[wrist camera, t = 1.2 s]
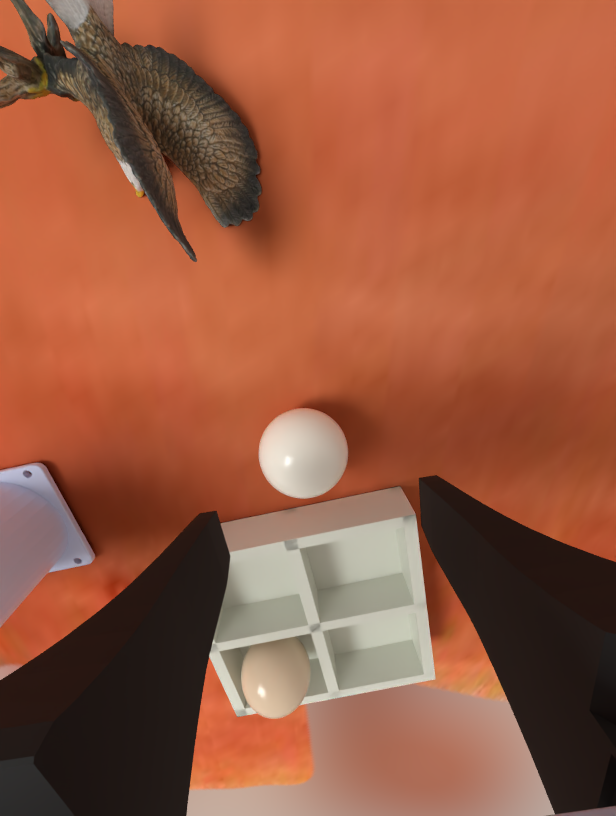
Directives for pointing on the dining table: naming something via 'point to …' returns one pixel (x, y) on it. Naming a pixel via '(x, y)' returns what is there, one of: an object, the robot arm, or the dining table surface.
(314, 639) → the egg tray
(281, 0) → the dining table surface
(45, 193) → the dining table surface
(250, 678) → the brown egg
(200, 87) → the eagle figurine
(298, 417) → the cream egg
